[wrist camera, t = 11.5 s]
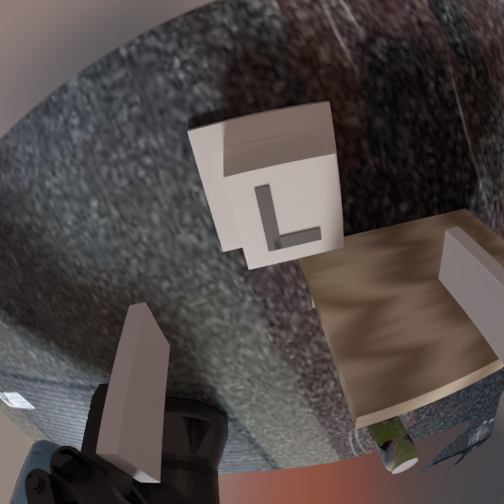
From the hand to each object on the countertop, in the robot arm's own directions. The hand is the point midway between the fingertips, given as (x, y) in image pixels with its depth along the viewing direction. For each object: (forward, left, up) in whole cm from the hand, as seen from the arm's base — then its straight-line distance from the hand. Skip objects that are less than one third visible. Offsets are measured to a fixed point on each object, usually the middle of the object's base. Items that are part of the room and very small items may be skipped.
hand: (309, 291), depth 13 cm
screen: (+10, -10, -13) cm, 19 cm away
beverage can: (+13, -47, -13) cm, 50 cm away
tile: (0, 0, -13) cm, 13 cm away
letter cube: (0, 0, -12) cm, 12 cm away
